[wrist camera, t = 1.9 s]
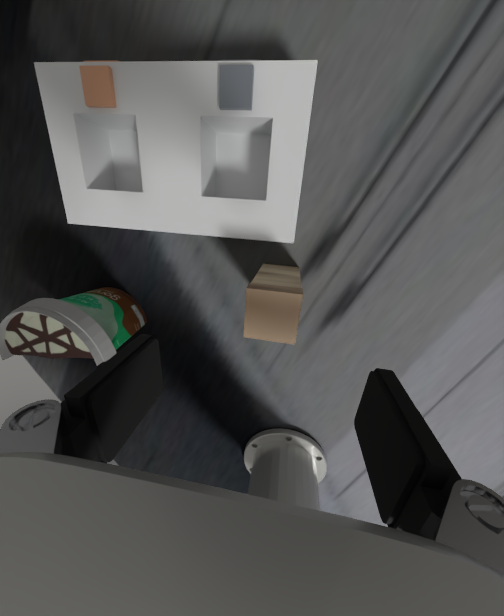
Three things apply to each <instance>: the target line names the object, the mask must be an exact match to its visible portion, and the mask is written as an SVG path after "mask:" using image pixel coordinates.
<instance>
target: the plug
mask: <svg viewBox="0 0 504 616" xmlns="http://www.w3.org/2000/svg"><path fill="white" fill-rule="evenodd" d="M302 298H303V290H302V288H301V280H300V272H299V267H292V266H282V265H272V264H263V265H262V266H261V268H260V269H259V271H258V272H257V274H256V276H255V277H254V279H253V280H252V282H250V284H249V285H248V287H247V289H246V305H245V321H244V337H246V338H253V339H260V340H267V341H274V342H281V343H288V344H295V342H296V336H297V330H298V323H299V317H300V311H301V305H302Z"/></svg>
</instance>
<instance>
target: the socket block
mask: <svg viewBox="0 0 504 616" xmlns="http://www.w3.org/2000/svg"><path fill="white" fill-rule="evenodd" d="M317 62H318V60H267V61H261V60H260V59H236V60H219V61H137V62H120V61H119V60H116V61H84V62H34V66H35V70H36V75H37V80H38V84H39V89H40V94H41V99H42V103H43V108H44V113H45V117H46V122H47V127H48V131H49V136H50V141H51V145H52V150H53V155H54V160H55V164H56V169H57V174H58V178H59V183H60V188H61V192H62V197H63V202H64V207H65V211H66V216H67V221H68V223H69V224H81V225H92V226H103V227H115V228H126V229H137V230H149V231H160V232H171V233H183V234H194V235H205V236H217V237H228V238H239V239H251V240H262V241H273V242H285V243H294V237H295V229H296V221H297V214H298V206H299V199H300V191H301V183H302V176H303V168H304V161H305V153H306V145H307V138H308V130H309V123H310V115H311V107H312V100H313V92H314V85H315V77H316V69H317Z"/></svg>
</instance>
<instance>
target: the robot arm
mask: <svg viewBox="0 0 504 616" xmlns="http://www.w3.org/2000/svg"><path fill="white" fill-rule="evenodd" d="M162 389H163V379H162V369H161V360H160V350H159V342H158V340H157V339H156V338H155V336H153V335H146V334H140V335H139V336H137V337H136V338H135V339H134V340H132V341H131V342H130V343H129V344H127V345H126V346H125V347H124V348H122V349H121V350H120V351H119V352H117V353H116V354H115V355H114V356H112V357H111V358H110V359H109V360H108V361H106V362H105V363H104V364H103V365H101V366H100V367H99V368H98V369H96V370H95V371H94V372H93V373H91V374H90V375H89V376H88V377H86V378H85V379H84V380H83V381H81V382H80V383H79V384H78V385H76V386H75V387H74V388H73V389H71V390H70V391H69V392H68V393H66V394H65V395H64V397H65V400H64V401H63V402H62V403H59V402H58V401H56V400H41V401H37V402H34V403H31V404H28V405H26V406H24V407H22V408H20V409H18V410H17V411H15V412H14V413H12V414H11V415H10V416H9V417H8V418H7V419H6V420H5V422H4V423H3V425H2V427H1V429H0V616H504V498H503V497H501V496H500V495H498V494H497V493H496V492H494V491H493V490H492V489H490V488H488V487H486V486H484V485H482V484H480V483H478V482H475V481H472V480H466V479H461V477H460V475H459V474H458V472H457V471H456V469H455V468H454V466H453V464H452V463H451V461H450V460H449V458H448V456H447V455H446V453H445V452H444V450H443V449H442V447H441V445H440V444H439V442H438V441H437V439H436V437H435V436H434V434H433V433H432V431H431V430H430V428H429V426H428V425H427V423H426V422H425V420H424V419H423V417H422V415H421V414H420V412H419V411H418V410H417V408H416V407H415V405H414V404H413V402H412V400H411V399H410V397H409V396H408V394H407V393H406V391H405V389H404V388H403V386H402V385H401V383H400V381H399V380H398V378H397V377H396V375H395V373H394V372H393V371H391V370H385V369H379V368H377V369H375V371H371V372H370V373H369V376H368V379H367V382H366V385H365V389H364V392H363V395H362V398H361V401H360V404H359V407H358V410H357V413H356V416H355V421H354V425H355V430H356V433H357V437H358V440H359V444H360V447H361V451H362V454H363V458H364V461H365V465H366V468H367V472H368V475H369V479H370V482H371V486H372V489H373V493H374V496H375V499H376V503H377V506H378V510H379V513H380V517H381V519H382V521H383V523H385V524H387V525H388V527H385V526H381V525H377V524H373V523H369V522H365V521H361V520H357V519H353V518H349V517H345V516H340V515H336V514H332V513H327V512H323V511H320V502H319V491H318V483H320V482H321V481H322V479H323V478H324V476H325V474H326V470H327V463H326V457H325V454H324V452H323V450H322V448H321V447H320V446H319V445H318V444H317V443H316V442H315V441H314V440H313V439H311V438H310V437H308V436H306V435H304V434H302V433H300V432H297V431H294V430H289V429H280V428H278V429H269V430H265V431H262V432H259V433H257V434H256V435H254V436H253V437H252V438H251V439H250V440H249V441H248V443H247V445H246V448H245V452H244V462H245V465H246V468H247V470H248V471H249V472H250V474H251V476H250V483H249V489H248V494H244V493H239V492H235V491H230V490H226V489H221V488H217V487H212V486H208V485H203V484H199V483H194V482H190V481H185V480H181V479H176V478H172V477H167V476H162V475H158V474H153V473H149V472H144V471H139V470H135V469H130V468H125V467H121V466H116V465H112V464H107V462H110V461H112V460H113V459H114V457H115V456H116V454H117V453H118V452H119V450H120V449H121V448H122V446H123V445H124V443H125V442H126V441H127V439H128V438H129V437H130V435H131V434H132V432H133V431H134V430H135V428H136V427H137V426H138V424H139V423H140V421H141V420H142V419H143V417H144V416H145V415H146V413H147V412H148V410H149V409H150V408H151V406H152V405H153V404H154V402H155V401H156V399H157V398H158V397H159V395H160V394H161V392H162Z"/></svg>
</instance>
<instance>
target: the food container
mask: <svg viewBox="0 0 504 616" xmlns="http://www.w3.org/2000/svg"><path fill="white" fill-rule="evenodd" d="M147 322H148V321H147V318H146V315H145V313H144V311H143V310H142V308H141V306H140V305H139V304H138V303H137V302H136V301H135V300H134V299H133V298H132V297H131V296H130V295H129V294H127V293H125V292H124V291H122V290H120V289H116V288H113V287H103V288H99V289H95V290H92V291H88V292H85V293H81V294H77V295H74V296H70V297H66V298H63V299H59V300H57V299H53V298H38V299H34V300H31V301H29V302H27V303H26V304H24V305H22V306H21V307H19V308H17V309H15V310H14V311H12V312H11V313H10V314H9V315H8V316H7V317H6V318H5V319H4V320H3V321H2V322H1V324H0V355H1V357H2V360H5V359H7V358H9V357H11V356H13V355H35V356H40V357H45V358H93V359H94V360H95V363H96V365H97V366H98V365H99V364H100V363H102V362H105V361H107V360H109V359H110V358H111V357H112V356H114V355H115V354H116V350H117V349H118V348H119V347H120V346H121V345H122V344H123V343H124V342H126V341H127V340H128V339H129V338H130V337H131V336H132V335H134V334H135V333H136V332H137V331H138V330H139V329H140V328H142V327H143V326H144V325H145V324H146V323H147Z"/></svg>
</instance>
